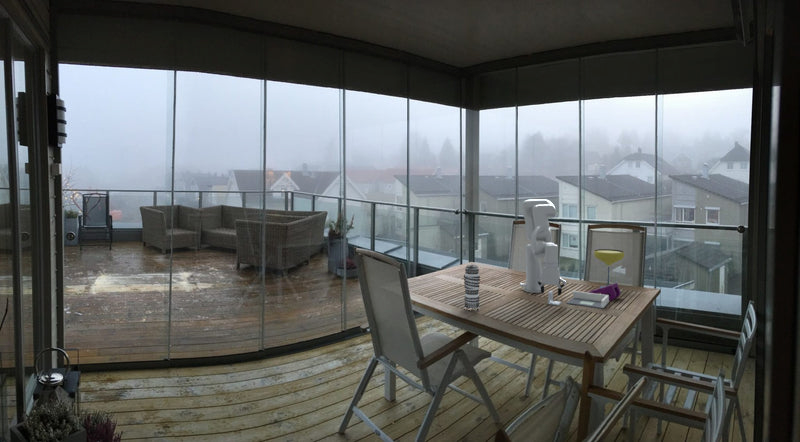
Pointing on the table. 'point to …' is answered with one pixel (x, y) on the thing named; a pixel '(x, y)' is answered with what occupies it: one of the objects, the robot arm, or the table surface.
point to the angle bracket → (550, 299)
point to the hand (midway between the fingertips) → (551, 294)
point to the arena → (589, 299)
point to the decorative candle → (471, 286)
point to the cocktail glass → (608, 257)
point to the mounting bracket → (608, 291)
